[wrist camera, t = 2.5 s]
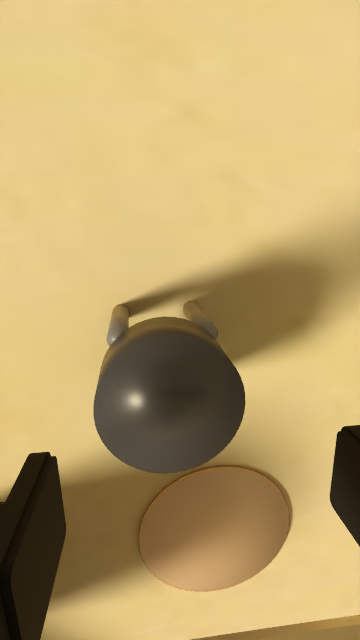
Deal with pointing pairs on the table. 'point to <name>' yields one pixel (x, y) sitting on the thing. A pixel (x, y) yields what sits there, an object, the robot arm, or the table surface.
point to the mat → (213, 529)
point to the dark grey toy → (166, 392)
